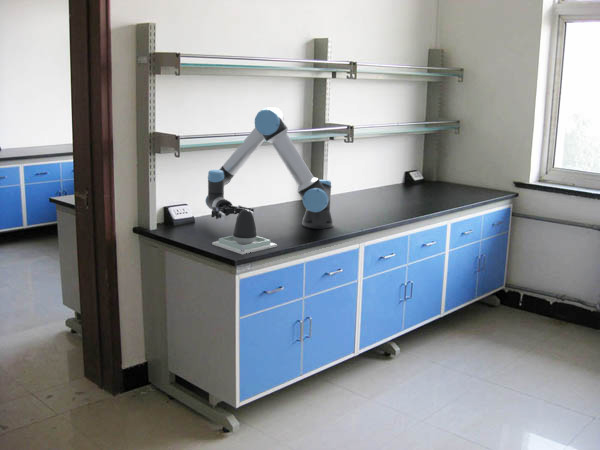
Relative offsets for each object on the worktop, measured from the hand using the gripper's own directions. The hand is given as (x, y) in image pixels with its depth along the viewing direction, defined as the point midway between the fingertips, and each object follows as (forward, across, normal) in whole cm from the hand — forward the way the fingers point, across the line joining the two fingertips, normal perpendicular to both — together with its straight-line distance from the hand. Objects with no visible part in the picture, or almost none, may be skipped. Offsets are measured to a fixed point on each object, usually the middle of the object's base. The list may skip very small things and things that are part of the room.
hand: (239, 216), depth 293 cm
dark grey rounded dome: (+7, 0, -10) cm, 13 cm away
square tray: (+7, 0, -11) cm, 13 cm away
